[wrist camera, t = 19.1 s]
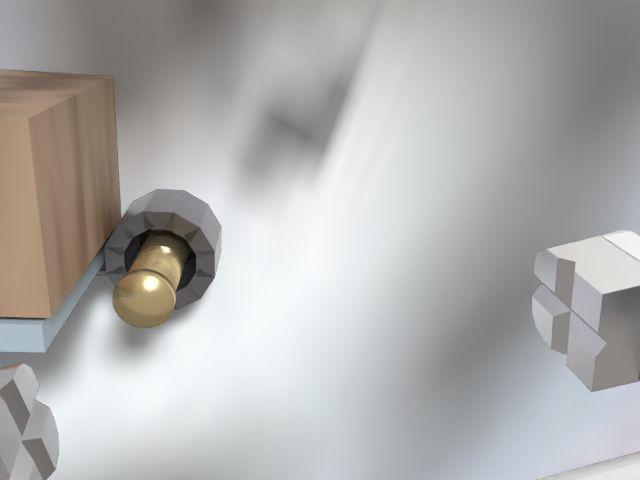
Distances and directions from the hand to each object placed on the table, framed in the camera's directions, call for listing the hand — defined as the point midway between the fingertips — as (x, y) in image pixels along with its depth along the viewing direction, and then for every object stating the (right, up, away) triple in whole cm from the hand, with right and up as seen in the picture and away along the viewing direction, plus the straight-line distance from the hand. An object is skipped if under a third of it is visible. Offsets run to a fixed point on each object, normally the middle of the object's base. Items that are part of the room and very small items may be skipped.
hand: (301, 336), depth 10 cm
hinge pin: (-10, +2, +33) cm, 35 cm away
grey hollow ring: (-12, +2, +33) cm, 35 cm away
